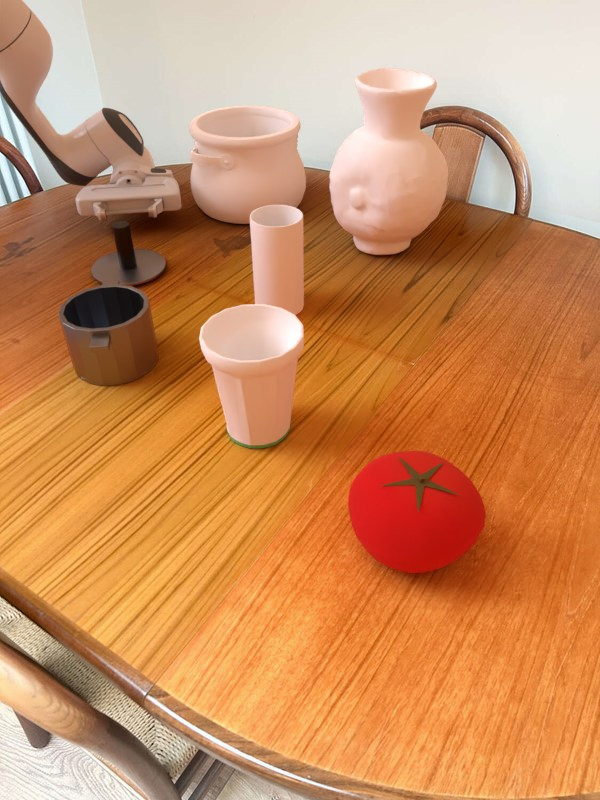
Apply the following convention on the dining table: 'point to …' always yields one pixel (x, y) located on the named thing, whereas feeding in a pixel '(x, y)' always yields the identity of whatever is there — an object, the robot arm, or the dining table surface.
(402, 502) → the tomato
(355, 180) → the vase
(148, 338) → the cooker
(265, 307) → the cup
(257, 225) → the cup
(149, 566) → the dining table surface
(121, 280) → the lid
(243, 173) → the pot
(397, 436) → the dining table surface
